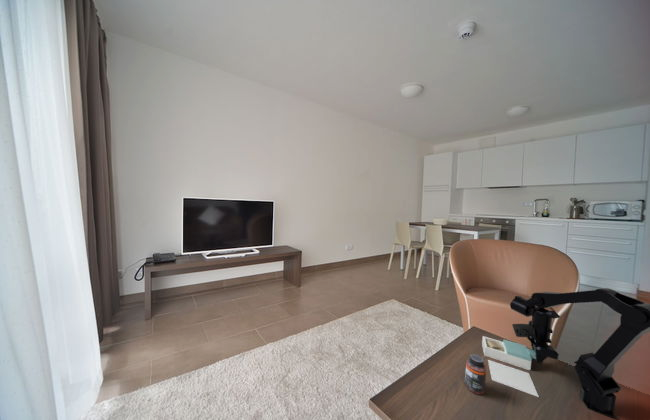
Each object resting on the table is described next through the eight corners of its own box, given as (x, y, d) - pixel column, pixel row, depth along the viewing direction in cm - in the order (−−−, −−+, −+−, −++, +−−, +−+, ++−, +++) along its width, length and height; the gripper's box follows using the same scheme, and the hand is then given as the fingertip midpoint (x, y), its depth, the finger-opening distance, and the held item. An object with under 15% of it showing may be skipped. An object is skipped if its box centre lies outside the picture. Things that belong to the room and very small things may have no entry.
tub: (523, 357, 97) (525, 348, 96) (530, 371, 89) (531, 361, 89) (481, 344, 104) (482, 336, 104) (484, 355, 96) (485, 347, 96)
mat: (528, 374, 87) (528, 373, 87) (538, 397, 77) (538, 396, 77) (487, 360, 94) (487, 359, 94) (491, 380, 83) (492, 379, 83)
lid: (537, 351, 94) (537, 348, 94) (544, 365, 87) (545, 361, 87) (503, 341, 100) (503, 338, 100) (507, 354, 92) (507, 350, 92)
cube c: (496, 350, 100) (497, 341, 100) (501, 356, 96) (502, 347, 96) (486, 348, 101) (487, 340, 100) (491, 355, 97) (492, 346, 96)
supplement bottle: (478, 382, 83) (481, 352, 82) (488, 396, 77) (491, 365, 76) (461, 380, 83) (463, 351, 82) (469, 394, 77) (472, 363, 76)
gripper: (510, 307, 102) (507, 340, 103) (521, 327, 86) (516, 366, 87) (543, 315, 97) (539, 349, 98) (561, 338, 81) (556, 379, 82)
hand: (536, 359), depth 91 cm, fingers closed on lid, 3 cm apart
